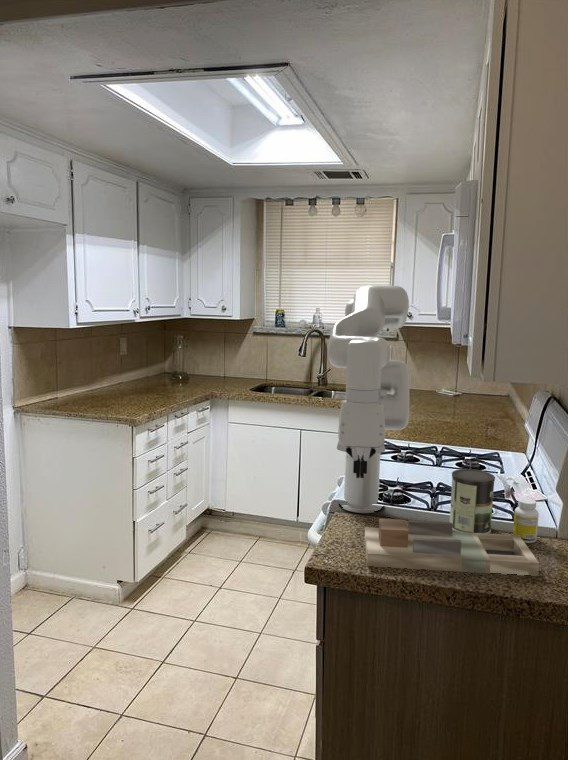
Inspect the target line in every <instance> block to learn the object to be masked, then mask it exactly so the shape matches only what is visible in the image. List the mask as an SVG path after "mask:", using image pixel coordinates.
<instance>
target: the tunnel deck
mask: <svg viewBox="0 0 568 760" xmlns="http://www.w3.org/2000/svg"><path fill="white" fill-rule="evenodd" d="M407 527H408V530H409V531H408V548H406V547H388V546H380V541H379V527H371V526H370V527H368V526H365V527H364V536H363V537H364V547H365V548H364V549H365V558H366V566H367V567H369V566H374V567H373V568H387V567H391V568H390V569H404V568H407V569H406V570H421V569H426V571H439V572H440V571H441V572H443V571H444V572H458V573H473V574H474V572H475V573H476V574H490V573H501V574H500V575H507V574H517V575H516V576H524V575H531V576H530V577H539V573H540V571H539V570H540V562H539V561H538V559H537V557H536V556H535V555H534V553H533V552H532V550H531V549H530V548H529V547H528V545H527V543H524V541H523V540H522V539H521V537H520V536H519V535H513V534H507V533H506V534H505V533H504V534H502V533H489V534H486V533H467V532H455V531H453V530H452V527H453V524H452V522H450V521H432V520H431V521H430V520H413V519H412V520H411V519H408V522H407ZM427 569H428V570H427Z"/></svg>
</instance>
